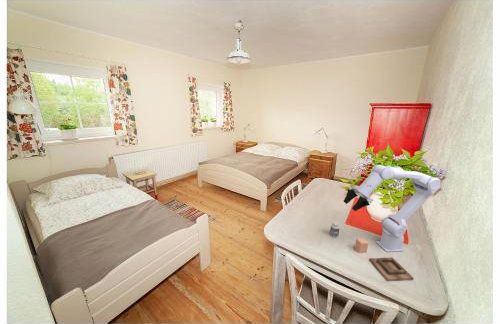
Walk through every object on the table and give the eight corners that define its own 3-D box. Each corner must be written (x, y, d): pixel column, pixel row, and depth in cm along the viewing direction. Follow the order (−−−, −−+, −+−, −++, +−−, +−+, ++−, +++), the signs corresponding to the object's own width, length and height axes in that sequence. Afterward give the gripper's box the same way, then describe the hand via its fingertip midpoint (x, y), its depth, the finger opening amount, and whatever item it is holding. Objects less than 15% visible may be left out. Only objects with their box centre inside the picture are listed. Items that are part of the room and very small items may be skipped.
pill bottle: (329, 236, 112) (331, 224, 110) (329, 231, 117) (331, 219, 114) (338, 238, 111) (340, 225, 108) (338, 233, 115) (340, 221, 113)
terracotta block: (361, 247, 104) (363, 238, 102) (366, 252, 100) (368, 243, 98) (354, 247, 104) (356, 238, 102) (359, 253, 100) (361, 243, 98)
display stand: (391, 259, 96) (393, 254, 95) (412, 279, 84) (414, 274, 84) (369, 260, 95) (370, 255, 94) (387, 281, 84) (388, 276, 83)
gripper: (354, 176, 99) (336, 195, 101) (373, 187, 85) (352, 209, 87) (363, 183, 101) (345, 202, 103) (383, 195, 87) (362, 217, 89)
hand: (349, 206), depth 95 cm, fingers open, 7 cm apart
